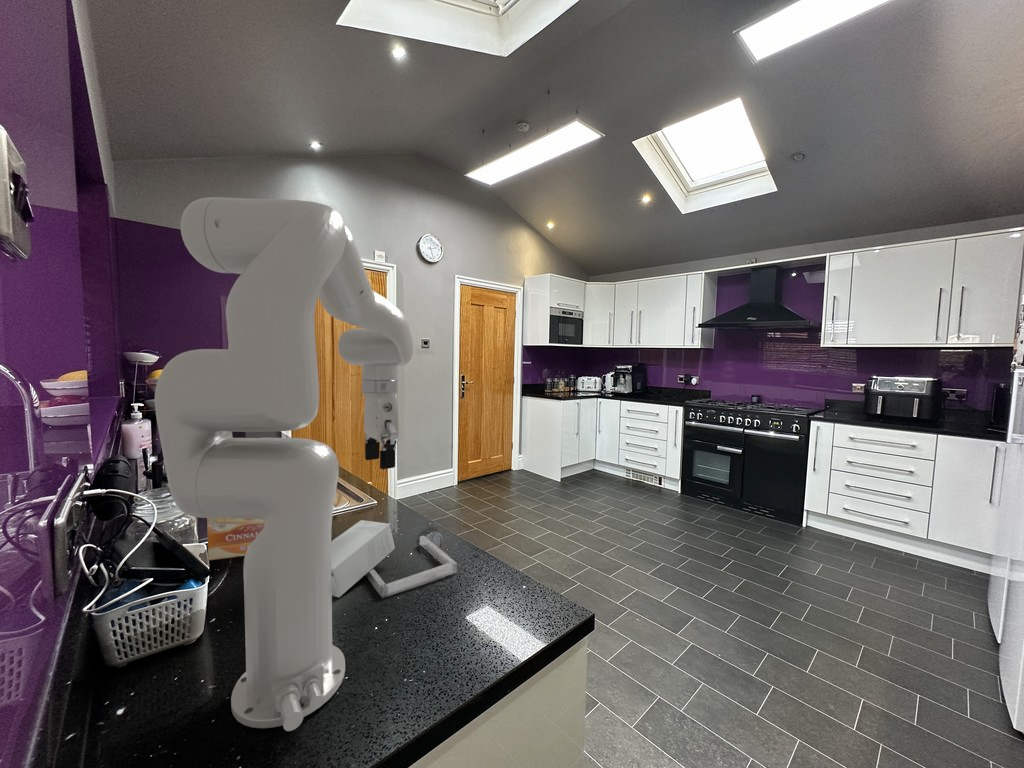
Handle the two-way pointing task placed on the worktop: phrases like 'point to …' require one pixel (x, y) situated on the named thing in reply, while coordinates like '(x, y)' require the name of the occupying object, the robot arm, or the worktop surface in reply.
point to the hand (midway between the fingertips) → (379, 463)
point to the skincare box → (358, 553)
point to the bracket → (418, 579)
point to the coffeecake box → (231, 536)
